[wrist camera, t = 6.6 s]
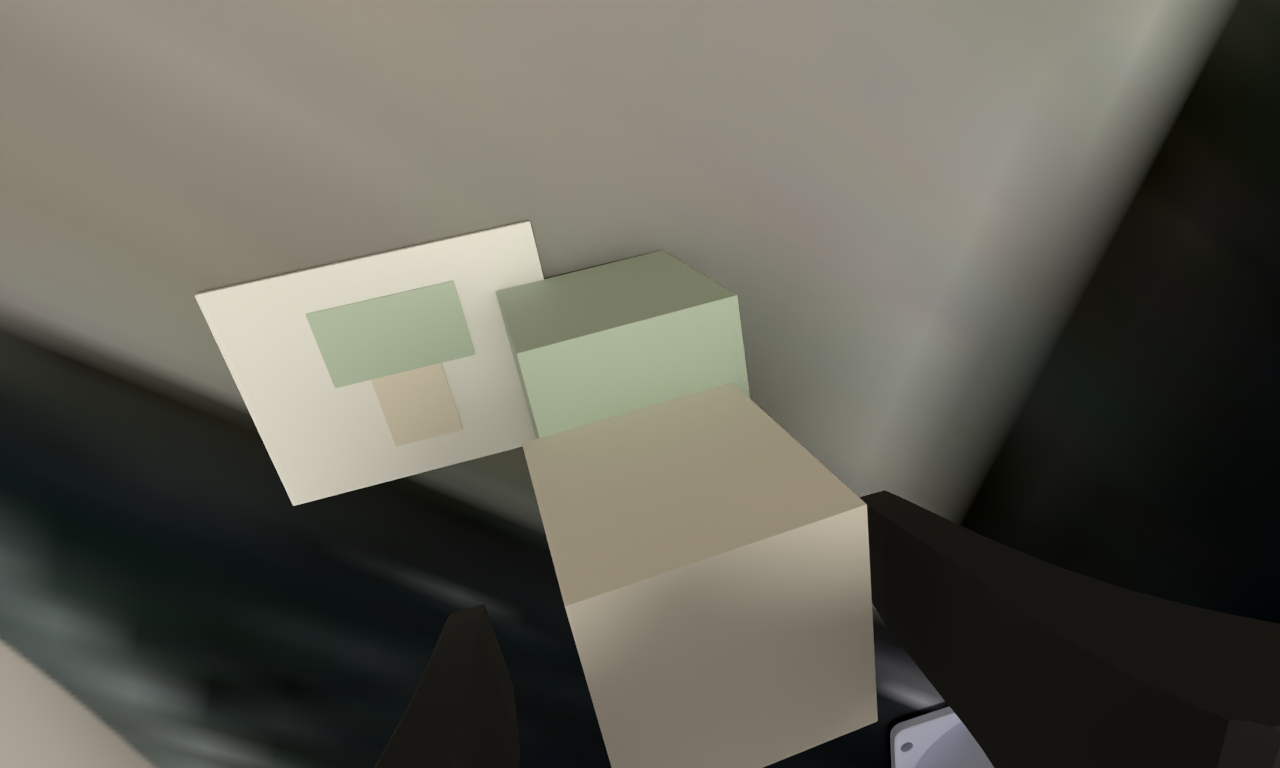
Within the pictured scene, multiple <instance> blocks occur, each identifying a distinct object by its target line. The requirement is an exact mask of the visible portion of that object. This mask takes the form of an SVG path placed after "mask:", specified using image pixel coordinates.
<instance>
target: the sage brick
mask: <svg viewBox="0 0 1280 768" xmlns="http://www.w3.org/2000/svg"><path fill="white" fill-rule="evenodd" d="M495 292H496V296H497V299H498V303H499V306H500V310H501V314H502V317H503V321H504V325H505V328H506V332H507V335H508V339H509V343H510V346H511V350H512V354H513V357H514V361H515V364H516V368H517V372H518V375H519V379H520V383H521V386H522V390H523V393H524V397H525V401H526V404H527V408H528V412H529V415H530V419H531V422H532V426H533V430H534V433H535V437H536V439H537V438H541V437H544V436H548V435H551V434H554V433H558V432H561V431H565V430H568V429H572V428H575V427H578V426H582V425H585V424H589V423H592V422H596V421H599V420H603V419H606V418H609V417H613V416H616V415H620V414H623V413H627V412H630V411H634V410H637V409H640V408H644V407H647V406H651V405H654V404H658V403H661V402H665V401H668V400H671V399H675V398H678V397H682V396H685V395H689V394H692V393H695V392H699V391H702V390H706V389H709V388H713V387H716V386H720V385H723V384H726V383H730V382H732V383H733V384H734V385H735V386H736V387H738V388H739V389H740V390H741V391H742V392H743V393H744V394H745V395H746V396H748V397H749V398H750V393H749V385H748V377H747V369H746V361H745V353H744V345H743V337H742V329H741V321H740V313H739V305H738V297H737V295H736V294H735V293H733V292H731V291H730V290H728V289H726V288H725V287H723V286H721V285H720V284H718V283H716V282H715V281H713V280H711V279H710V278H708V277H706V276H705V275H703V274H701V273H700V272H698V271H696V270H695V269H693V268H691V267H690V266H688V265H686V264H685V263H683V262H681V261H680V260H678V259H676V258H675V257H673V256H671V255H670V254H668V253H666V252H665V251H663V250H661V251H657V252H653V253H649V254H645V255H641V256H637V257H633V258H629V259H625V260H621V261H617V262H613V263H609V264H605V265H601V266H596V267H592V268H588V269H584V270H580V271H576V272H572V273H568V274H564V275H560V276H556V277H552V278H548V279H544V280H540V281H536V282H532V283H528V284H524V285H520V286H516V287H511V288H507V289H503V290H499V291H495Z"/></svg>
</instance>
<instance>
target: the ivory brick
mask: <svg viewBox="0 0 1280 768" xmlns="http://www.w3.org/2000/svg"><path fill="white" fill-rule="evenodd" d="M522 446H523V450H524V454H525V458H526V461H527V465H528V469H529V473H530V476H531V480H532V484H533V488H534V492H535V495H536V499H537V503H538V507H539V511H540V514H541V518H542V522H543V526H544V529H545V533H546V537H547V541H548V545H549V548H550V552H551V556H552V560H553V563H554V567H555V571H556V575H557V579H558V582H559V586H560V590H561V594H562V598H563V601H564V605H565V609H566V612H567V616H568V619H569V622H570V626H571V629H572V633H573V636H574V640H575V643H576V646H577V650H578V653H579V657H580V660H581V664H582V667H583V670H584V674H585V677H586V681H587V684H588V688H589V691H590V694H591V698H592V701H593V705H594V708H595V712H596V715H597V719H598V722H599V725H600V729H601V732H602V736H603V739H604V743H605V746H606V749H607V753H608V756H609V760H610V763H611V767H612V768H763V767H765V766H768V765H770V764H773V763H775V762H778V761H780V760H783V759H785V758H788V757H790V756H793V755H795V754H798V753H800V752H803V751H805V750H808V749H810V748H812V747H815V746H817V745H820V744H822V743H825V742H827V741H830V740H832V739H835V738H837V737H840V736H842V735H845V734H847V733H850V732H852V731H855V730H857V729H860V728H862V727H864V726H867V725H869V724H872V723H874V722H877V721H878V717H877V697H876V677H875V657H874V637H873V616H872V596H871V576H870V556H869V536H868V516H867V504H866V503H865V502H864V501H863V500H861V499H860V498H859V497H858V496H857V495H856V494H855V493H854V492H853V491H851V490H850V489H849V488H848V487H847V486H846V485H845V484H844V483H843V482H842V481H840V480H839V479H838V478H837V477H836V476H835V475H834V474H833V473H832V472H830V471H829V470H828V469H827V468H826V467H825V466H824V465H823V464H822V463H821V462H819V461H818V460H817V459H816V458H815V457H814V456H813V455H812V454H811V453H809V452H808V451H807V450H806V449H805V448H804V447H803V446H802V445H801V444H800V443H798V442H797V441H796V440H795V439H794V438H793V437H792V436H791V435H790V434H788V433H787V432H786V431H785V430H784V429H783V428H782V427H781V426H780V425H779V424H777V423H776V422H775V421H774V420H773V419H772V418H771V417H770V416H769V415H767V414H766V413H765V412H764V411H763V410H762V409H761V408H760V407H759V406H757V405H756V404H755V403H754V402H753V401H752V400H751V399H750V398H749V397H748V396H746V395H745V394H744V393H743V392H742V391H741V390H740V389H739V388H738V387H736V386H735V385H734V384H733V383H732V382H730V383H726V384H723V385H720V386H716V387H713V388H709V389H706V390H702V391H699V392H695V393H692V394H689V395H685V396H682V397H678V398H675V399H671V400H668V401H665V402H661V403H658V404H654V405H651V406H647V407H644V408H640V409H637V410H634V411H630V412H627V413H623V414H620V415H616V416H613V417H609V418H606V419H603V420H599V421H596V422H592V423H589V424H585V425H582V426H578V427H575V428H572V429H568V430H565V431H561V432H558V433H554V434H551V435H548V436H544V437H541V438H537V439H534V440H530V441H527V442H523V443H522Z"/></svg>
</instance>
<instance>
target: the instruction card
mask: <svg viewBox="0 0 1280 768" xmlns="http://www.w3.org/2000/svg"><path fill="white" fill-rule="evenodd" d="M540 280H544V277H543V273H542V269H541V265H540V261H539V257H538V253H537V249H536V245H535V241H534V236H533V232H532V228H531V224H530V221H529V220H528V221H524V222H519V223H515V224H510V225H505V226H501V227H496V228H492V229H487V230H483V231H478V232H474V233H469V234H465V235H460V236H455V237H451V238H446V239H442V240H437V241H433V242H428V243H424V244H419V245H415V246H410V247H405V248H401V249H396V250H392V251H387V252H383V253H378V254H374V255H369V256H365V257H360V258H355V259H351V260H346V261H342V262H337V263H333V264H328V265H324V266H319V267H314V268H310V269H305V270H301V271H296V272H292V273H287V274H283V275H278V276H274V277H269V278H264V279H260V280H255V281H251V282H246V283H242V284H237V285H233V286H228V287H224V288H219V289H214V290H210V291H205V292H201V293H197V294H196V295H195V297H196V300H197V302H198V304H199V306H200V308H201V310H202V312H203V315H204V317H205V319H206V321H207V323H208V325H209V327H210V330H211V332H212V334H213V336H214V338H215V340H216V342H217V344H218V347H219V349H220V351H221V353H222V355H223V357H224V359H225V362H226V364H227V366H228V368H229V370H230V372H231V374H232V376H233V379H234V381H235V383H236V385H237V387H238V389H239V391H240V394H241V396H242V398H243V400H244V402H245V404H246V406H247V408H248V411H249V413H250V415H251V417H252V419H253V421H254V423H255V426H256V428H257V430H258V432H259V434H260V436H261V438H262V440H263V443H264V445H265V447H266V449H267V451H268V453H269V455H270V458H271V460H272V462H273V464H274V466H275V468H276V470H277V472H278V475H279V477H280V479H281V481H282V483H283V485H284V487H285V490H286V492H287V494H288V496H289V498H290V500H291V502H292V505H293V506H295V505H299V504H303V503H307V502H311V501H314V500H318V499H322V498H326V497H330V496H334V495H338V494H341V493H345V492H349V491H353V490H357V489H361V488H365V487H368V486H372V485H376V484H380V483H384V482H388V481H392V480H396V479H399V478H403V477H407V476H411V475H415V474H419V473H423V472H426V471H430V470H434V469H438V468H442V467H446V466H450V465H453V464H457V463H461V462H465V461H469V460H473V459H477V458H480V457H484V456H488V455H492V454H496V453H500V452H504V451H508V450H511V449H515V448H519V447H523V446H522V443H523V442H527V441H530V440H534V439H536V437H535V433H534V430H533V426H532V422H531V419H530V415H529V412H528V408H527V404H526V401H525V397H524V393H523V390H522V386H521V383H520V379H519V375H518V372H517V368H516V364H515V361H514V357H513V354H512V350H511V346H510V343H509V339H508V335H507V332H506V328H505V325H504V321H503V317H502V314H501V310H500V306H499V303H498V299H497V296H496V292H495V291H499V290H503V289H507V288H511V287H516V286H520V285H524V284H528V283H532V282H536V281H540Z"/></svg>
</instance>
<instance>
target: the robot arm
mask: <svg viewBox="0 0 1280 768" xmlns="http://www.w3.org/2000/svg"><path fill="white" fill-rule="evenodd" d="M860 499H861V500H863V501H864V502H865V503H866V504H867V516H868V536H869V556H870V576H871V596H872V603H873V605H874V606H875V608H876V610H877V611H878V613H879V614H880V616H881V618H882V619H883V621H884V623H885V624H886V626H887V627H888V629H889V630H890V631H891V633H892V634H893V635H894V637H895V638H896V639H897V640H898V642H899V643H900V644H901V646H902V647H903V648H904V649H905V651H906V652H907V653H908V655H909V656H910V657H911V658H912V660H913V661H914V662H915V663H916V665H917V666H918V667H919V668H920V670H921V671H922V672H923V674H924V675H925V676H926V677H927V679H928V680H929V681H930V682H931V684H932V685H933V686H934V687H935V689H936V690H937V691H938V692H939V694H940V695H941V696H942V697H943V699H944V700H945V701H946V702H947V704H948V705H949V707H946V708H943V709H940V710H937V711H933V712H930V713H927V714H924V715H921V716H918V717H915V718H912V719H909V720H906V721H903V722H900V723H898V724H896V725H895V726H894V727H893V728H892V730H891V733H890V744H891V768H1280V624H1277V623H1272V622H1266V621H1261V620H1256V619H1251V618H1246V617H1241V616H1236V615H1231V614H1225V613H1220V612H1216V611H1211V610H1207V609H1203V608H1198V607H1194V606H1189V605H1185V604H1181V603H1177V602H1173V601H1169V600H1166V599H1162V598H1158V597H1154V596H1150V595H1146V594H1142V593H1139V592H1135V591H1132V590H1128V589H1125V588H1121V587H1118V586H1115V585H1111V584H1108V583H1105V582H1102V581H1099V580H1096V579H1093V578H1090V577H1087V576H1084V575H1081V574H1078V573H1075V572H1072V571H1069V570H1066V569H1063V568H1060V567H1058V566H1055V565H1052V564H1049V563H1047V562H1044V561H1042V560H1039V559H1037V558H1034V557H1032V556H1029V555H1027V554H1024V553H1022V552H1019V551H1017V550H1014V549H1012V548H1009V547H1007V546H1005V545H1002V544H1000V543H998V542H995V541H993V540H991V539H988V538H986V537H984V536H982V535H979V534H977V533H975V532H973V531H971V530H969V529H966V528H964V527H962V526H960V525H958V524H956V523H953V522H951V521H949V520H947V519H945V518H943V517H941V516H939V515H937V514H935V513H932V512H930V511H928V510H926V509H924V508H922V507H920V506H918V505H916V504H914V503H912V502H909V501H907V500H905V499H903V498H901V497H899V496H896V495H894V494H892V493H890V492H887V491H885V490H884V491H881V492H877V493H874V494H870V495H867V496H863V497H860ZM374 768H519V733H518V723H517V713H516V704H515V696H514V687H513V683H512V680H511V678H510V675H509V672H508V669H507V666H506V664H505V661H504V658H503V655H502V652H501V649H500V647H499V644H498V641H497V638H496V635H495V632H494V630H493V627H492V624H491V621H490V618H489V616H488V613H487V610H486V607H485V604H483V605H479V606H476V607H472V608H469V609H465V610H462V611H458V612H455V613H451V614H450V616H449V617H448V619H447V620H446V623H445V625H444V627H443V630H442V632H441V635H440V637H439V639H438V642H437V644H436V646H435V649H434V651H433V653H432V655H431V658H430V660H429V662H428V664H427V667H426V669H425V671H424V673H423V675H422V678H421V680H420V682H419V684H418V686H417V688H416V690H415V692H414V694H413V696H412V698H411V700H410V702H409V704H408V706H407V708H406V710H405V712H404V714H403V716H402V718H401V720H400V722H399V724H398V726H397V727H396V729H395V731H394V733H393V735H392V737H391V738H390V740H389V742H388V744H387V746H386V747H385V749H384V751H383V753H382V755H381V756H380V758H379V760H378V762H377V764H376V765H375V767H374Z"/></svg>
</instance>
